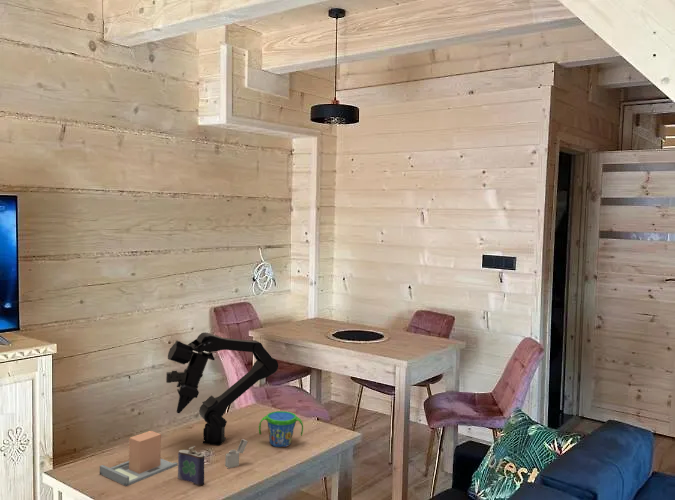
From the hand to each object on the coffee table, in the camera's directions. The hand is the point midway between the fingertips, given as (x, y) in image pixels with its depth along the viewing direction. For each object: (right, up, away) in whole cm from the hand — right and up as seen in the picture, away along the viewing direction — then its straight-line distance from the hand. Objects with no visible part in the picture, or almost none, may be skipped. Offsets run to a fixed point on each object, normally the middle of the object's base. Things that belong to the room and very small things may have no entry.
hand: (177, 412), depth 204 cm
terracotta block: (-6, -13, -15) cm, 21 cm away
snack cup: (+34, -14, +9) cm, 38 cm away
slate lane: (-7, -13, -17) cm, 23 cm away
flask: (+10, -15, -23) cm, 29 cm away
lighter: (+21, -14, -10) cm, 28 cm away
